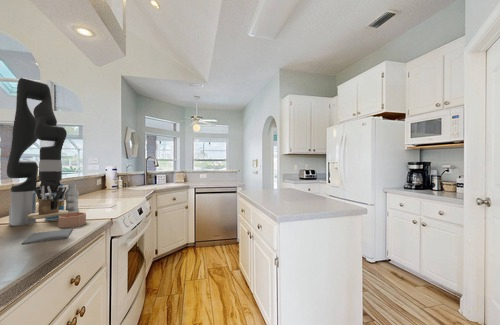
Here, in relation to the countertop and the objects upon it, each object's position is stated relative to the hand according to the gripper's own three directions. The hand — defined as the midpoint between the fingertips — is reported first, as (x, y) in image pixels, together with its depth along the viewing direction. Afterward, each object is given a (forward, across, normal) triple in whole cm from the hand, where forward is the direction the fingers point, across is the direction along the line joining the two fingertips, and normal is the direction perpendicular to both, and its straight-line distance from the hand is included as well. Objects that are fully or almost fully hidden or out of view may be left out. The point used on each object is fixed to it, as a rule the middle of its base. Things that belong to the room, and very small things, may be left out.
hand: (50, 209), depth 95 cm
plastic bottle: (+12, -18, +29) cm, 36 cm away
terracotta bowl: (+12, -7, +18) cm, 23 cm away
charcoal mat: (+12, 0, 0) cm, 12 cm away
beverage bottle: (+12, -27, +27) cm, 40 cm away
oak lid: (+2, 0, 0) cm, 2 cm away
